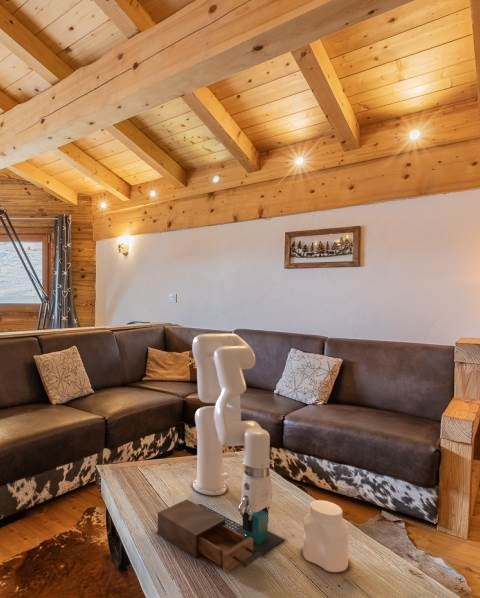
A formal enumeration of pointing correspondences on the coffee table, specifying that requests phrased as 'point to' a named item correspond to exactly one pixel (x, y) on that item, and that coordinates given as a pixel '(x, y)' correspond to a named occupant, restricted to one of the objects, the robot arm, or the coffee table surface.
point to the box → (258, 527)
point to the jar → (326, 536)
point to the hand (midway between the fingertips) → (255, 525)
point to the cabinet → (187, 524)
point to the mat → (264, 542)
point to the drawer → (227, 547)
